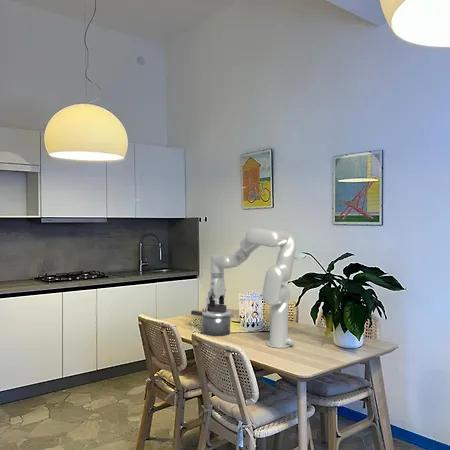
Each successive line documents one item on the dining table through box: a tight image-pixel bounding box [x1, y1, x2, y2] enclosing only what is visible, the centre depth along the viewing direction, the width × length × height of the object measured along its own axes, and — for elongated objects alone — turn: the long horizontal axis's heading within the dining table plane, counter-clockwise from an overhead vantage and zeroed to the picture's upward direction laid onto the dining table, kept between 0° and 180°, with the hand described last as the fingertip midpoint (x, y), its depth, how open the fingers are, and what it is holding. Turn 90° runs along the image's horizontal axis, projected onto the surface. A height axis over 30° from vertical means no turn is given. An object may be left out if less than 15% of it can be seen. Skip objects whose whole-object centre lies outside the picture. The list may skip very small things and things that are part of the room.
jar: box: [204, 296, 222, 309], centre depth 282 cm, size 11×10×15 cm
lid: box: [201, 303, 233, 317], centre depth 257 cm, size 17×17×5 cm
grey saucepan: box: [190, 309, 232, 337], centre depth 259 cm, size 25×17×11 cm, turn 58°
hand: (216, 305), depth 257 cm, fingers open, 9 cm apart
